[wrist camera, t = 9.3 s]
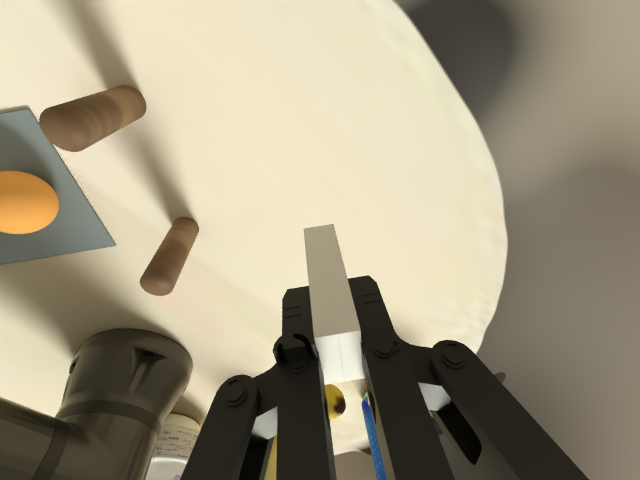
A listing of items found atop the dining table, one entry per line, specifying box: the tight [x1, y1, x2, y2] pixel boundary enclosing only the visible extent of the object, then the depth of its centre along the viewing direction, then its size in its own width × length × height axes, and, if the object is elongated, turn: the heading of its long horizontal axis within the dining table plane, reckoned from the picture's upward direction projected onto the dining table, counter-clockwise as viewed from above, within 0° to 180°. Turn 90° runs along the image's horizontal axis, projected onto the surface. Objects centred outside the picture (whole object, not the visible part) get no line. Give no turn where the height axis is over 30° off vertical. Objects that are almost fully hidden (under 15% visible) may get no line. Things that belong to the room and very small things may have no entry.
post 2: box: [140, 217, 199, 296], centre depth 29 cm, size 3×3×9 cm
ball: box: [0, 171, 59, 234], centre depth 27 cm, size 6×6×6 cm
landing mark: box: [0, 109, 116, 265], centre depth 29 cm, size 14×14×1 cm
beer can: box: [362, 392, 387, 480], centre depth 49 cm, size 8×8×16 cm
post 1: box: [39, 86, 146, 152], centre depth 22 cm, size 3×3×9 cm
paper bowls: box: [145, 414, 201, 480], centre depth 52 cm, size 15×15×8 cm
